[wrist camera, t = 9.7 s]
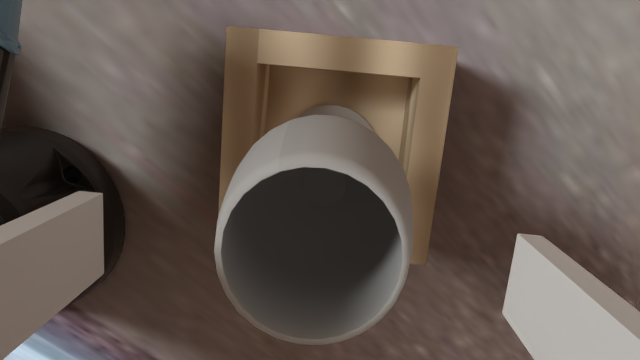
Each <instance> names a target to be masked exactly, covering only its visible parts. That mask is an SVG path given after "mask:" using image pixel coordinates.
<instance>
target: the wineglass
mask: <svg viewBox="0 0 640 360" xmlns="http://www.w3.org/2000/svg"><path fill="white" fill-rule="evenodd" d="M413 239H414V227H413V207H412V196H411V192H410V188H409V185H408V181H407V178H406V175H405V171H404V169H403V167H402V165H401V164H400V162H399V160H398V159H397V157H396V156H395V154H394V152H393V151H392V149H391V148H390V147H389V146H388V145H387V144H386V143H385V142H384V141H383V140H382V139H381V138H380V137H379V136H378V135H377V134H376V133H375V132H373V130H372V128H371V127H370V125H369V123H368V122H367V121H366V120H365V119H363V118H362V117H361V116H360V115H359V114H357V113H356V112H354V111H352V110H351V109H348V108H345V107H341V106H336V105H324V106H319V107H315V108H312V109H310V110H308V111H306V112H304V113H303V114H302V115H300V116H299V117H298V118H295V119H292V120H290V121H288V122H286V123H284V124H282V125H280V126H278V127H275V128H274V129H272V130H270V131H269V132H268V133H267V134H265V135H264V136H263V137H262V138H261V139H259V140H258V141H257V142H256V143H255V144H254V145H253V146H252V147H251V149H250V150H249V151H248V153H247V154H246V156H245V157H244V158H243V160H242V161H241V163H240V164H239V166H238V167H237V169H236V171H235V173H234V175H233V177H232V180H231V182H230V184H229V187H228V190H227V192H226V195H225V197H224V200H223V203H222V206H221V209H220V212H219V216H218V221H217V229H216V237H215V246H214V255H215V262H216V270H217V275H218V277H219V280H220V282H221V285H222V287H223V290H224V292H225V294H226V296H227V297H228V299H229V300H230V301H231V303H232V304H233V306H234V307H235V308H236V310H237V311H238V313H240V314H241V315H242V316H243V317H244V318H245V319H246V320H248V321H249V322H250V323H251V324H252V325H253V326H254V327H256V328H258V329H259V330H261V331H263V332H265V333H267V334H269V335H270V336H272V337H274V338H277V339H280V340H284V341H287V342H291V343H294V344H303V345H325V344H332V343H338V342H342V341H345V340H347V339H350V338H352V337H355V336H357V335H360V334H362V333H364V332H365V331H366V330H368V329H369V328H371V327H372V326H373V325H375V324H376V323H378V322H379V321H380V320H381V319H382V318H383V317H384V316H385V315H386V314H387V312H388V311H389V310H390V309H391V308H392V307H393V305H394V304H395V303H396V301H397V299H398V297H399V295H400V293H401V291H402V289H403V287H404V285H405V282H406V278H407V274H408V270H409V265H410V260H411V256H412V249H413Z"/></svg>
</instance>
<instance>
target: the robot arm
mask: <svg viewBox="0 0 640 360" xmlns="http://www.w3.org/2000/svg"><path fill="white" fill-rule="evenodd" d="M21 7H22V0H0V360H3V359H4V358H5V357H6V356H7V355H9V354H10V353H11V352H12V351H13V350H14V349H16V348H17V347H18V346H19V345H20V344H22V343H23V342H24V341H25V340H26V339H27V338H29V337H30V336H31V335H32V334H33V333H35V332H36V331H37V330H38V329H39V328H40V327H42V326H43V325H44V324H45V323H46V322H48V321H49V320H50V319H51V318H52V317H53V316H55V315H56V314H57V313H58V312H59V311H61V310H62V309H63V308H64V307H65V306H67V305H70V304H72V303H74V302H75V301H77V300H79V299H80V298H82V297H83V296H85V295H86V294H87V293H89V292H90V291H91V290H92V289H93V288H95V287H96V286H97V285H98V284H99V283H100V282H102V281H103V280H104V279H105V278H106V277H107V275H108V274H109V273H110V272H111V270H112V269H113V267H114V266H115V264H116V262H117V260H118V258H119V256H120V253H121V250H122V246H123V242H124V235H125V218H124V211H123V206H122V203H121V199H120V196H119V194H118V191H117V189H116V187H115V185H114V183H113V181H112V179H111V178H110V176H109V174H108V173H107V172H106V170H105V169H104V168H103V166H102V165H101V164H100V163H99V162H98V161H97V160H96V158H95V157H93V156H92V155H91V154H90V153H89V152H88V151H87V150H86V149H84V148H83V147H82V146H80V145H79V144H77V143H76V142H74V141H72V140H71V139H69V138H67V137H65V136H63V135H60V134H58V133H55V132H52V131H49V130H45V129H41V128H34V127H11V128H5V129H2V126H3V120H4V115H5V109H6V104H7V98H8V92H9V87H10V81H11V76H12V70H13V64H14V59H15V54H17V55H19V54H20V52H21V45H20V44H19V42H18V32H19V24H20V15H21ZM502 314H503V315H504V317H505V318H506V320H507V321H508V323H509V324H510V326H511V327H512V328H513V330H514V331H515V333H516V334H517V336H518V337H519V339H520V340H521V341H522V343H523V344H524V346H525V347H526V349H527V350H528V352H529V353H530V354H531V356H532V357H533V359H534V360H640V312H639V311H638V310H637V309H635V308H634V307H633V306H632V305H630V304H629V303H628V302H627V301H625V300H624V299H623V298H621V297H620V296H619V295H618V294H616V293H615V292H614V291H612V290H611V289H610V288H609V287H607V286H606V285H605V284H603V283H602V282H601V281H600V280H598V279H597V278H596V277H594V276H593V275H592V274H591V273H589V272H588V271H587V270H586V269H584V268H583V267H582V266H580V265H579V264H578V263H577V262H575V261H574V260H573V259H571V258H570V257H569V256H568V255H566V254H565V253H564V252H562V251H561V250H560V249H559V248H557V247H556V246H555V245H553V244H552V243H551V242H550V241H548V240H547V239H546V238H544V237H543V236H540V235H530V234H519V233H518V234H517V239H516V244H515V249H514V254H513V260H512V265H511V270H510V275H509V280H508V285H507V291H506V296H505V301H504V306H503V311H502Z"/></svg>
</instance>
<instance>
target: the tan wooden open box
mask: <svg viewBox="0 0 640 360" xmlns="http://www.w3.org/2000/svg"><path fill="white" fill-rule="evenodd" d="M458 48H459V47H456V46H445V45H433V44H422V43H411V42H400V41H389V40H377V39H366V38H355V37H344V36H333V35H321V34H310V33H299V32H288V31H277V30H266V29H254V28H243V27H232V26H226V49H225V72H224V95H223V118H222V141H221V165H220V188H219V211H218V216H219V212H220V209H221V206H222V203H223V200H224V197H225V195H226V192H227V190H228V187H229V184H230V182H231V180H232V177H233V175H234V173H235V171H236V169H237V167H238V166H239V164H240V163H241V161H242V160H243V158H244V157H245V156H246V154H247V153H248V151H249V150H250V149H251V147H252V146H253V145H254V144H255V143H256V142H257V141H258V140H259V139H261V138H262V137H263V136H264V135H265V134H267V133H268V132H269V131H270V130H272V129H274V128H275V127H278V126H280V125H282V124H284V123H286V122H288V121H290V120H292V119H295V118H298V117H299V116H300V115H302V114H303V113H304V112H306V111H308V110H310V109H312V108H315V107H319V106H324V105H336V106H341V107H345V108H348V109H351V110H352V111H354V112H356V113H357V114H359V115H360V116H361V117H362V118H363V119H365V120H366V121H367V122H368V123H369V125H370V127H371V128H372V130H373V132H375V133H376V134H377V135H378V136H379V137H380V138H381V139H382V140H383V141H384V142H385V143H386V144H387V145H388V146H389V147H390V148H391V149H392V151H393V152H394V154H395V156H396V157H397V159H398V160H399V162H400V164H401V165H402V167H403V169H404V171H405V175H406V178H407V181H408V185H409V188H410V192H411V196H412V207H413V227H414V239H413V249H412V256H411V260H410V264H418V265H426V262H427V255H428V249H429V242H430V235H431V229H432V222H433V215H434V209H435V202H436V195H437V189H438V182H439V175H440V168H441V162H442V155H443V148H444V142H445V135H446V128H447V122H448V115H449V108H450V101H451V95H452V88H453V81H454V75H455V68H456V61H457V55H458Z"/></svg>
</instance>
